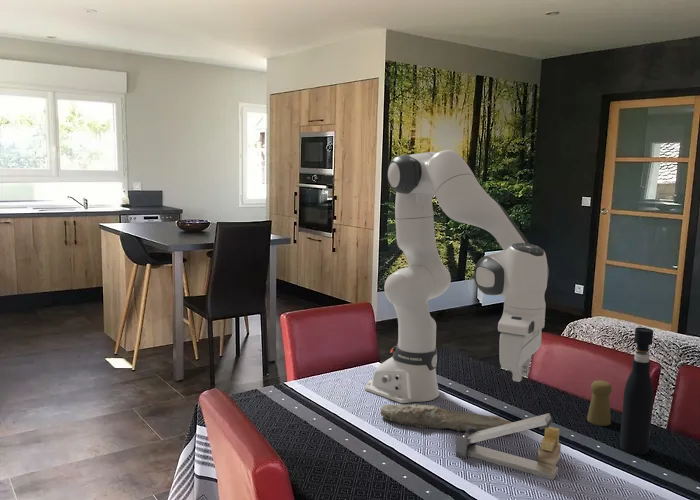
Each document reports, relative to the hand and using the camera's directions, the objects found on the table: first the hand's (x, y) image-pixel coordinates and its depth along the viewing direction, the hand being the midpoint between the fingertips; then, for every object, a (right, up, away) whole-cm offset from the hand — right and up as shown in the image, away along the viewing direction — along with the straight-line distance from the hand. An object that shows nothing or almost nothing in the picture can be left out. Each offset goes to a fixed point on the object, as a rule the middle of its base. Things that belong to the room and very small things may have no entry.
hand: (520, 377), depth 133 cm
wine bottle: (+31, -20, +12) cm, 39 cm away
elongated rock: (-13, -18, +24) cm, 33 cm away
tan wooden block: (+8, -21, +5) cm, 23 cm away
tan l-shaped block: (+8, -17, +4) cm, 19 cm away
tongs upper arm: (-2, -14, +4) cm, 15 cm away
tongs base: (-2, -21, +4) cm, 21 cm away
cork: (+29, -18, +27) cm, 44 cm away
